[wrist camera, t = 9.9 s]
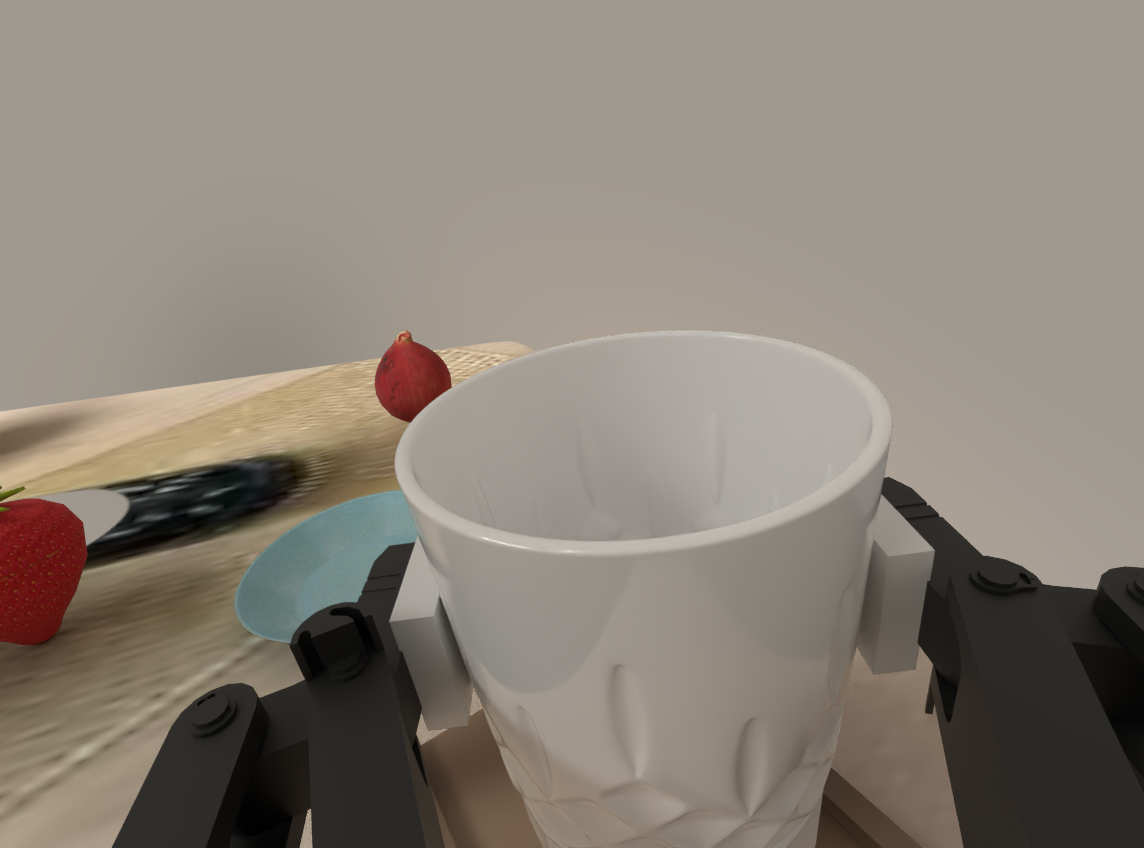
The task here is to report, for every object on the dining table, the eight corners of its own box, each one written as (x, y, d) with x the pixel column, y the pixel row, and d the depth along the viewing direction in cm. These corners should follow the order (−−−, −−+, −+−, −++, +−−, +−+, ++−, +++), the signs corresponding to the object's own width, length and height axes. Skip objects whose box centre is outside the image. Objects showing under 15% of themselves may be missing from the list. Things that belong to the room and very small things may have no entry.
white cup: (729, 618, 18) (721, 307, 14) (937, 888, 12) (1043, 438, 7) (484, 702, 17) (391, 381, 13) (553, 1071, 10) (398, 639, 6)
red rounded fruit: (401, 449, 45) (372, 350, 41) (380, 426, 49) (352, 335, 46) (470, 424, 47) (449, 328, 44) (444, 404, 52) (423, 316, 48)
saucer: (196, 674, 27) (175, 638, 26) (327, 520, 37) (315, 491, 36) (436, 682, 25) (423, 643, 24) (504, 517, 35) (497, 484, 34)
